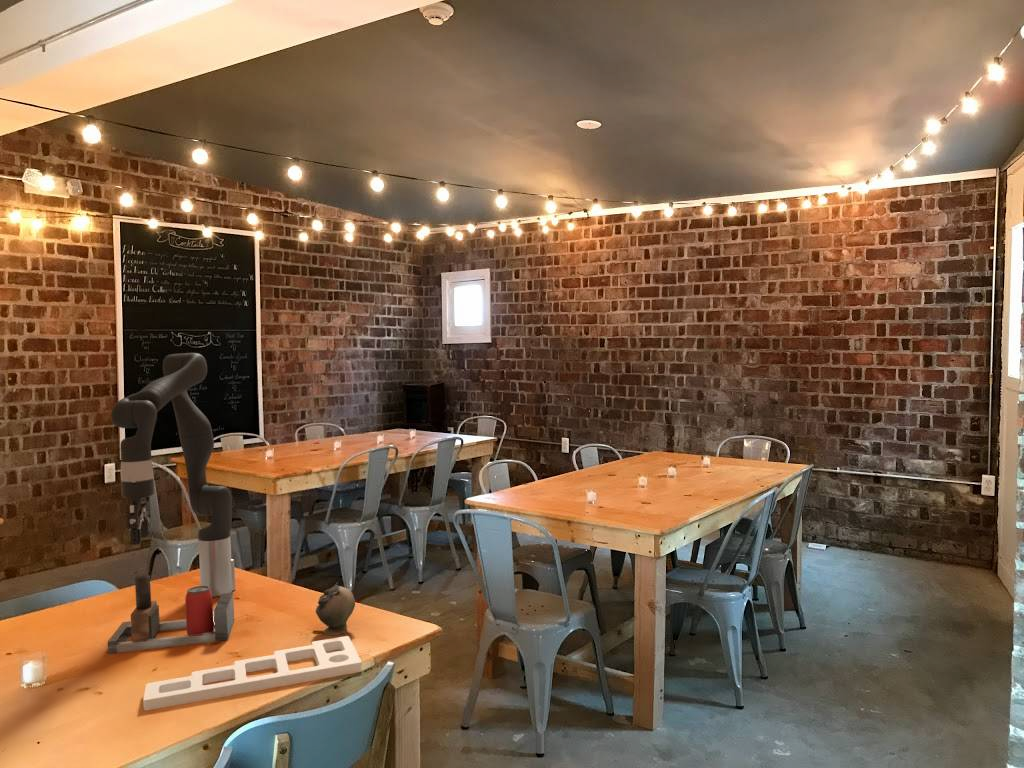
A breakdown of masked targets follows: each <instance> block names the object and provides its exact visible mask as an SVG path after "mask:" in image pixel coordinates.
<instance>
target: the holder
mask: <svg viewBox="0 0 1024 768" xmlns="http://www.w3.org/2000/svg"><path fill="white" fill-rule="evenodd" d="M336 650H337V651H336ZM311 658H313V659H314V660H315V664H316V665H315V666H314V665H313V666H309V667H305V668H299V669H292V670H290V669H289V665H288V663H289V662H292V661H294V662H295V661H299V660H305V659H311ZM362 663H363V662H362V660H361V657H360V656H359V654H358V652H357V650H356V648H355V645H354V643H353V641H352V640H351V638H350V636H348V635H345V636H339V637H338V636H337V637H333V638H325V639H321V640H315V641H311V644H310V645H305V646H303V645H302V646H298V647H292V648H287V649H280V650H274V651H273V654H271V655H265V656H264V655H263V656H258V657H257V656H256V657H252V658H246V659H240V660H235V661H233V664H232V665H226V666H220V667H214V668H207V669H202V670H196V671H192V672H191V675H189V676H183V677H182V676H181V677H177V678H169V679H165V680H160V681H152V682H147V683H146V685H145V689H144V694H143V699H142V701H143V703H142V704H143V711H151V710H155V709H162V708H167V707H172V706H178V705H183V704H188V703H189V704H190V703H193V702H194V703H195V702H200V701H205V700H211V699H216V698H217V699H218V698H222V697H228V696H234V695H240V694H245V693H249V692H257V691H261V690H262V691H263V690H268V689H273V688H277V687H284V686H288V685H294V684H299V683H305V682H311V681H317V680H323V679H328V678H333V677H339V676H344V675H349V674H354V673H362V672H363V664H362ZM268 669H276V672H274V673H269V674H265V675H264V674H263V675H258V676H251V677H247V673H250V672H257V671H262V670H268ZM232 679H233V680H232ZM227 680H228V681H227ZM220 681H224V682H220ZM215 682H216V683H215ZM217 682H218V683H217ZM210 683H211V684H210Z"/></svg>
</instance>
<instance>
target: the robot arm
mask: <svg viewBox="0 0 1024 768" xmlns="http://www.w3.org/2000/svg"><path fill="white" fill-rule="evenodd" d="M162 371H163V372H162V373H163V376H162V377H160V378H157V379H155V380H153V381H151V382H149V383H148V384H147V385H145V386H144V387H143V388H142V389H141V390H140V391H137V392H136V393H132V394H130V395H128V396H126V397H123V398H122V399H120V400H118V401H117V402H116V403H115V404H114V405H113V407H112V409H111V411H110V419H111V422H112V423H113V424H114V425H115V427H118V428H120V429H137V430H136V433H135V435H133V436H130V437H126V438H123V439H122V440H121V441H120V462H121V463H120V489H121V497H122V498H123V499H130V503H129V504H127V505H126V507H125V508H126V528H127V530H129V531H130V532H129V533H130V544H131V545H132V546H137V545H138V546H139V545H140V544H141V543H142V538H147V537H149V535H150V534H149V533H150V532H149V522H150V519H151V516H152V515H151V502H150V499H151V496H153V495H154V494H155V485H154V484H155V483H154V480H155V479H154V467H153V462H152V461H153V460H152V441H153V434H154V430H155V426H156V423H157V418H158V413H159V412H160V410H162V409H163V408H164V407H165V406H167V404H169V403H170V401H171V403H172V407H173V411H174V416H175V420H176V426H177V429H178V430H177V431H178V435H179V441H180V446H181V449H182V454H183V458H184V463H185V464H184V465H185V469H186V476H187V487H188V496H189V503H190V507H191V510H192V512H193V513H194V514H195V515H197V516H202V517H211V522H210V524H209V525H208V526H203V527H201V528H199V530H198V535H197V537H198V540H197V541H198V557H199V561H198V562H199V580H200V581H199V582H200V585H199V586H208V587H210V591H211V593H212V598H215V597H220V596H221V594H224V593H233V591H235V590H236V573H235V572H236V571H235V559H233V558H232V546H231V543H232V542H231V530H232V526H233V525H232V523H233V522H232V521H233V517H232V516H233V511H232V510H233V499H232V493H231V490H230V489H229V488H228V487H227V486H223V485H208V484H209V483H208V481H207V475H206V473H207V472H206V468H207V464H208V462H209V461H210V458H211V456H212V454H213V450H214V447H215V440H214V439H215V438H214V433H213V429H212V426H211V423H210V421H209V419H208V418H207V416H206V415H205V414H204V413H203V412H202V411H201V409H199V407H197V405H195V403H194V402H193V401H192V399H191V397H190V396H189V394H188V390H189V389H190V388H193V387H194V386H196V385H198V384H200V383H202V382H203V381H204V380H205V379H206V376H207V374H208V364H207V360H206V358H205V357H204V355H202V354H200V353H197V352H186V353H183V352H182V353H172V354H168V355H166V356H165V357H164V359H163V361H162Z"/></svg>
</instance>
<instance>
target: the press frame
mask: <svg viewBox="0 0 1024 768" xmlns="http://www.w3.org/2000/svg"><path fill="white" fill-rule="evenodd" d="M234 604H235V603H234V592H231V593H224V594H221V596H219V599H218V600H217V603H216V605H215V608H214V609H213V616H214V622H215V625H214V631H213V632H210V633H201V634H191V635H187V634H184V635H183V634H182V635H176V636H175V635H174V636H165V637H156V638H155V637H154V638H153V639H145V640H136V641H132V640H129V641H127V639H128V638H129V637H130V635H132V630H131V620H130V621H123V622H121V624H120V625H119V626H118V627H117V629H116V630H115V631H114V633H113V634H112V635H111V636H110V638H109V639H108V640H107V654H108V655H110V654H116V653H117V654H119V653H126V652H128V653H129V652H134V651H143V650H144V651H146V650H152V649H161V648H172V647H179V646H188V645H189V646H190V645H199V644H206V643H207V644H208V643H215V642H216V643H217V642H225V641H229V639H230V635H231V632H232V630H233V627H234V624H235V605H234ZM159 622H160V628H159V629H158V631H157V632H164V631H165V632H166V631H174V630H182V629H187V623H186V618H185V619H175V620H166V621H159Z"/></svg>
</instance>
